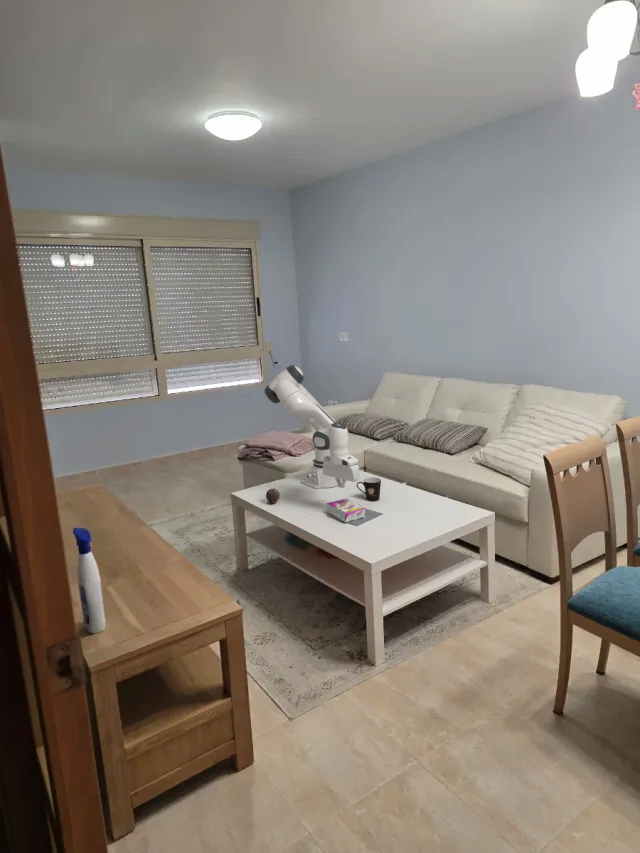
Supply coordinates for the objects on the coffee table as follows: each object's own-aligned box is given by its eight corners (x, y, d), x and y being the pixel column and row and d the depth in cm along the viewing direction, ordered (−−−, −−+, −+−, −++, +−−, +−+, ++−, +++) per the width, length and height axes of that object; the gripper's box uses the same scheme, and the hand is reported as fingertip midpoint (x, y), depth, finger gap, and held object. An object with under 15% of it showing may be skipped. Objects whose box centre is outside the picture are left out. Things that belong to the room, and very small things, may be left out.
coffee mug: (385, 498, 281) (384, 479, 279) (374, 503, 275) (373, 483, 273) (366, 494, 289) (366, 475, 287) (355, 498, 283) (355, 479, 281)
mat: (327, 516, 261) (327, 516, 261) (353, 505, 273) (353, 505, 273) (357, 526, 248) (356, 525, 248) (382, 514, 261) (382, 513, 261)
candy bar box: (346, 497, 269) (366, 507, 256) (346, 507, 270) (366, 517, 257) (326, 502, 264) (345, 512, 250) (326, 512, 265) (345, 523, 251)
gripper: (319, 456, 266) (320, 484, 269) (351, 463, 252) (353, 493, 255) (328, 453, 270) (329, 481, 273) (361, 460, 256) (362, 489, 259)
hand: (341, 487), depth 264 cm, fingers closed
